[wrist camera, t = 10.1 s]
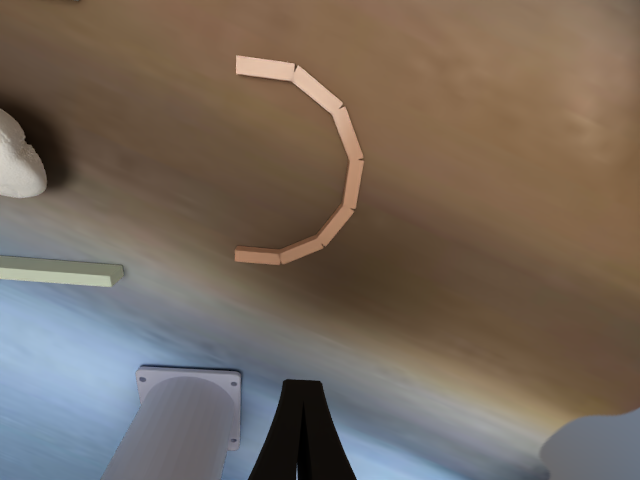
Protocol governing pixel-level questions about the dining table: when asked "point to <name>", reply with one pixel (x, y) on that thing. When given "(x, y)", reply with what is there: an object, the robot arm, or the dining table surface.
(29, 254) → the dining table surface
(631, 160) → the dining table surface
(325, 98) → the segmented c-shaped arc
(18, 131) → the dumpling
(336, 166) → the dining table surface
